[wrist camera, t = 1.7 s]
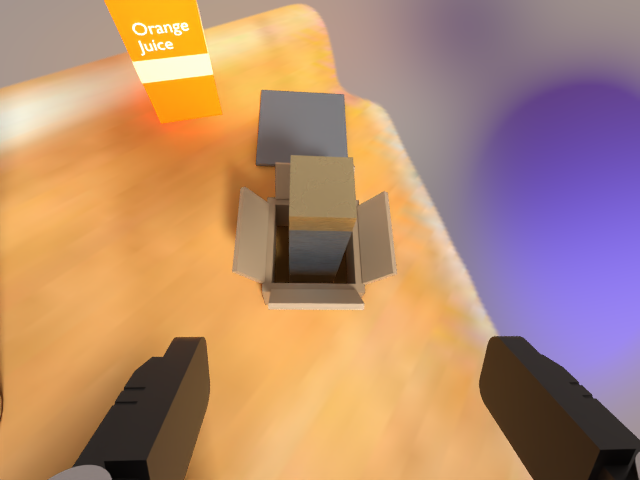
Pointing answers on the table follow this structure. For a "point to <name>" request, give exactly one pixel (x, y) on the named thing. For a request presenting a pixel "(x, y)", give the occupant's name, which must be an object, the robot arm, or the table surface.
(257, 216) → the carton
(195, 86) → the orange juice
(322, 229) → the tall two-tone pillar
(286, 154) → the felt mat
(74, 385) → the table surface
